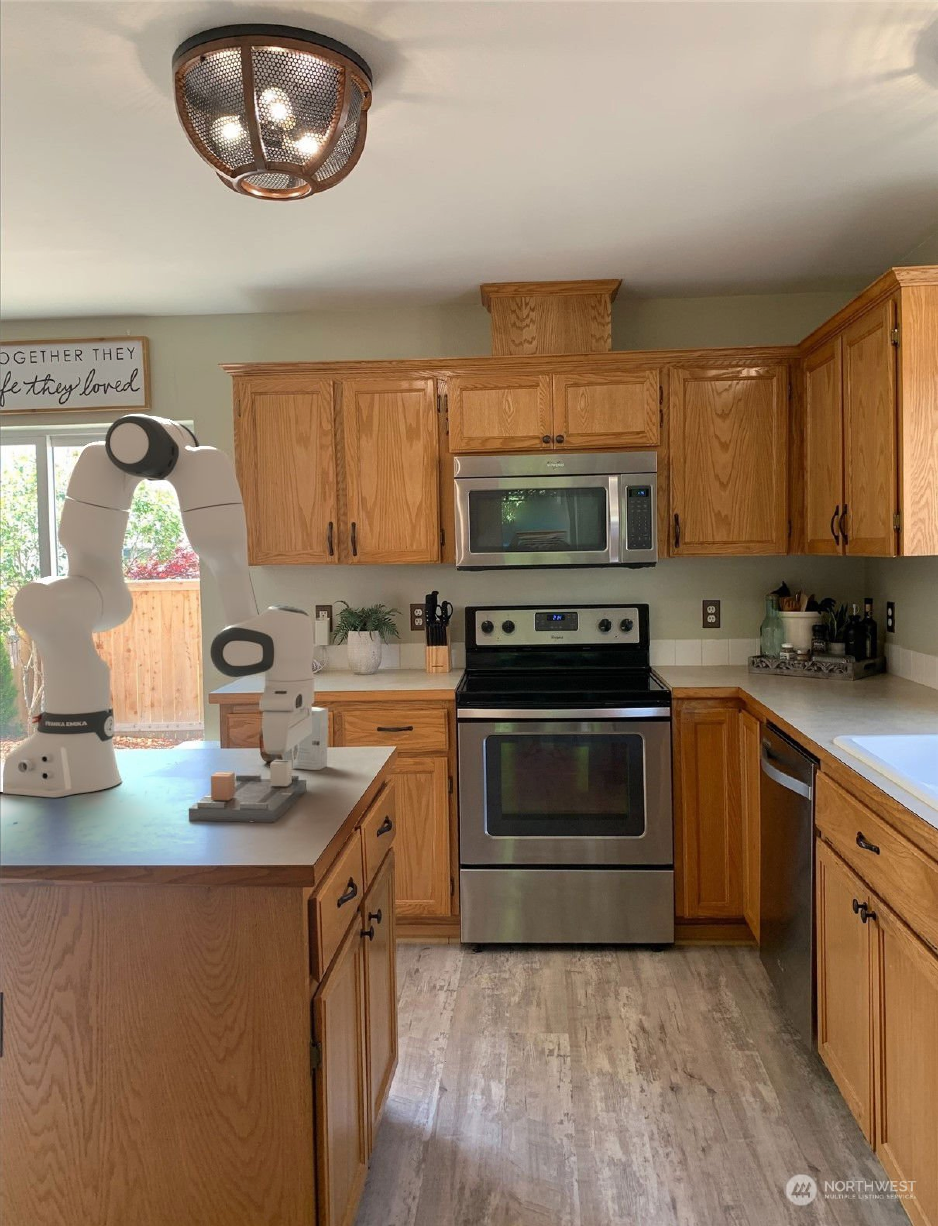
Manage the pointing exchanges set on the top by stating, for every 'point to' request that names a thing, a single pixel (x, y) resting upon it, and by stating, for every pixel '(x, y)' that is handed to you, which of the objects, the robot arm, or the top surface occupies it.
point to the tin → (263, 753)
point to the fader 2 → (280, 772)
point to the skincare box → (315, 742)
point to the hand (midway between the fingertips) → (290, 768)
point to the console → (250, 801)
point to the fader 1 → (222, 785)
